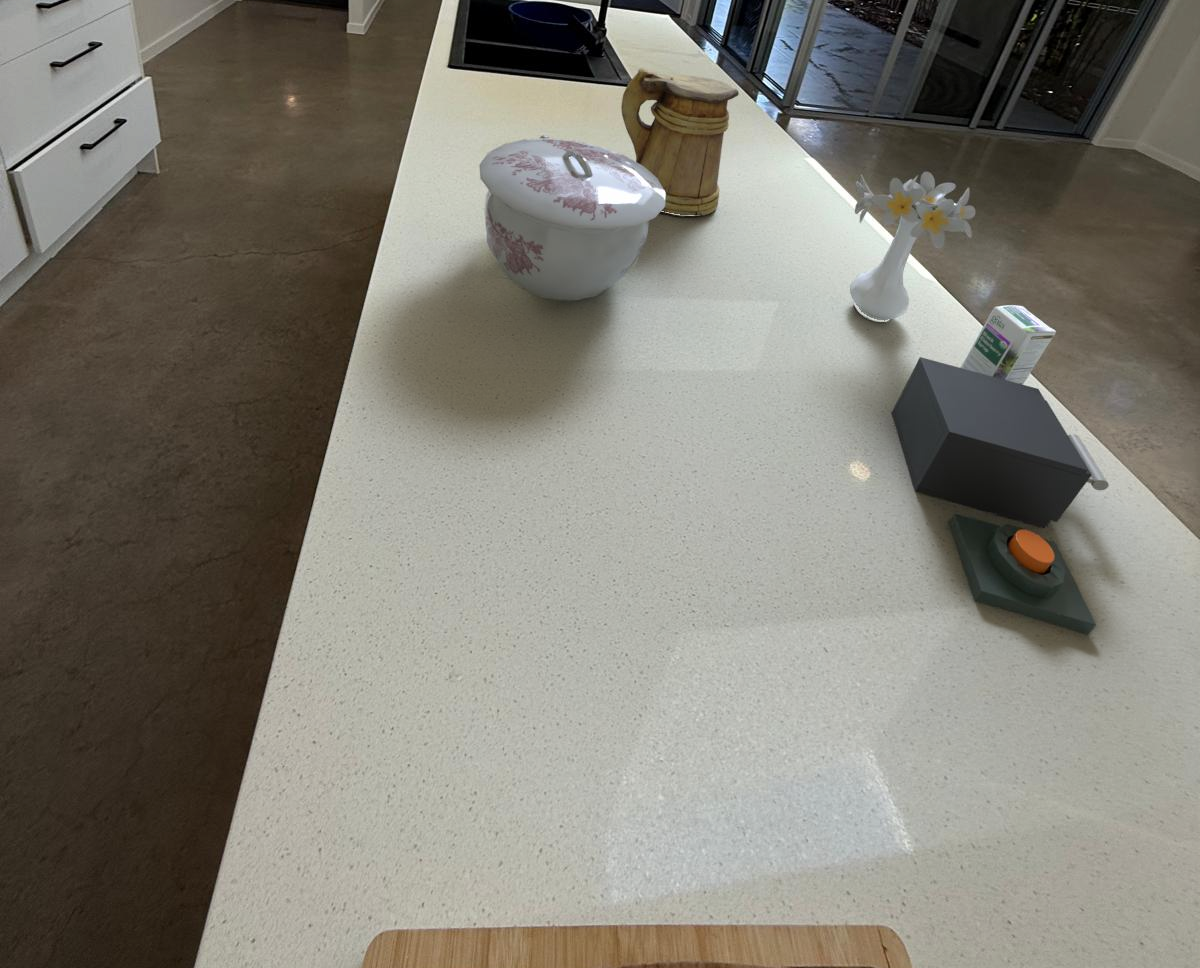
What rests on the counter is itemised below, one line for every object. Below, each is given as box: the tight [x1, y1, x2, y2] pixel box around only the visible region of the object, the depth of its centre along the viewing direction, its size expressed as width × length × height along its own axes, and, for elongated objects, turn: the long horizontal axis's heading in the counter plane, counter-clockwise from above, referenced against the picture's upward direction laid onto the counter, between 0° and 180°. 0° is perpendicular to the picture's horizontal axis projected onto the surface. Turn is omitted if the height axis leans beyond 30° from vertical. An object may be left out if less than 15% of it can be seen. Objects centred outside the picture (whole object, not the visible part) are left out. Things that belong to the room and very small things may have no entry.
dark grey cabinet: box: [890, 356, 1088, 529], centre depth 79 cm, size 15×13×10 cm
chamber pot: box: [478, 134, 666, 302], centre depth 98 cm, size 28×28×21 cm
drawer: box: [1045, 399, 1110, 523], centre depth 79 cm, size 18×12×8 cm, turn 79°
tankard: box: [621, 68, 740, 216], centre depth 128 cm, size 18×24×25 cm
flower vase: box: [849, 171, 976, 321], centre depth 104 cm, size 13×18×25 cm
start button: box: [1008, 529, 1055, 573], centre depth 67 cm, size 4×4×2 cm
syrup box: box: [959, 304, 1057, 385], centre depth 91 cm, size 6×6×14 cm
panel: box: [947, 512, 1097, 636], centre depth 68 cm, size 11×9×4 cm
